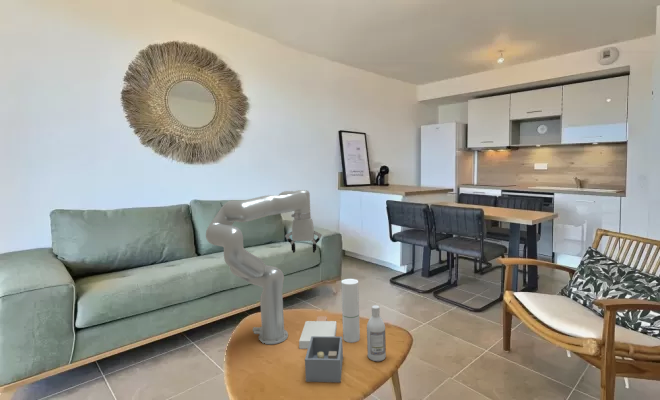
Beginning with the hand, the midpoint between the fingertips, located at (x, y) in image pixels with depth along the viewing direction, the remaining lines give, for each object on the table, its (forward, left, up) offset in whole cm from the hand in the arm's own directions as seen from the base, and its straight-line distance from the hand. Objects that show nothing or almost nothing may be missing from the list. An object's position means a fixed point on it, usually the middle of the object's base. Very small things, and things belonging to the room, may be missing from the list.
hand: (304, 252), depth 162 cm
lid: (+8, -15, -33) cm, 38 cm away
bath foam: (+32, -32, -34) cm, 56 cm away
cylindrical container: (+22, -18, -34) cm, 44 cm away
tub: (+13, -40, -33) cm, 54 cm away
